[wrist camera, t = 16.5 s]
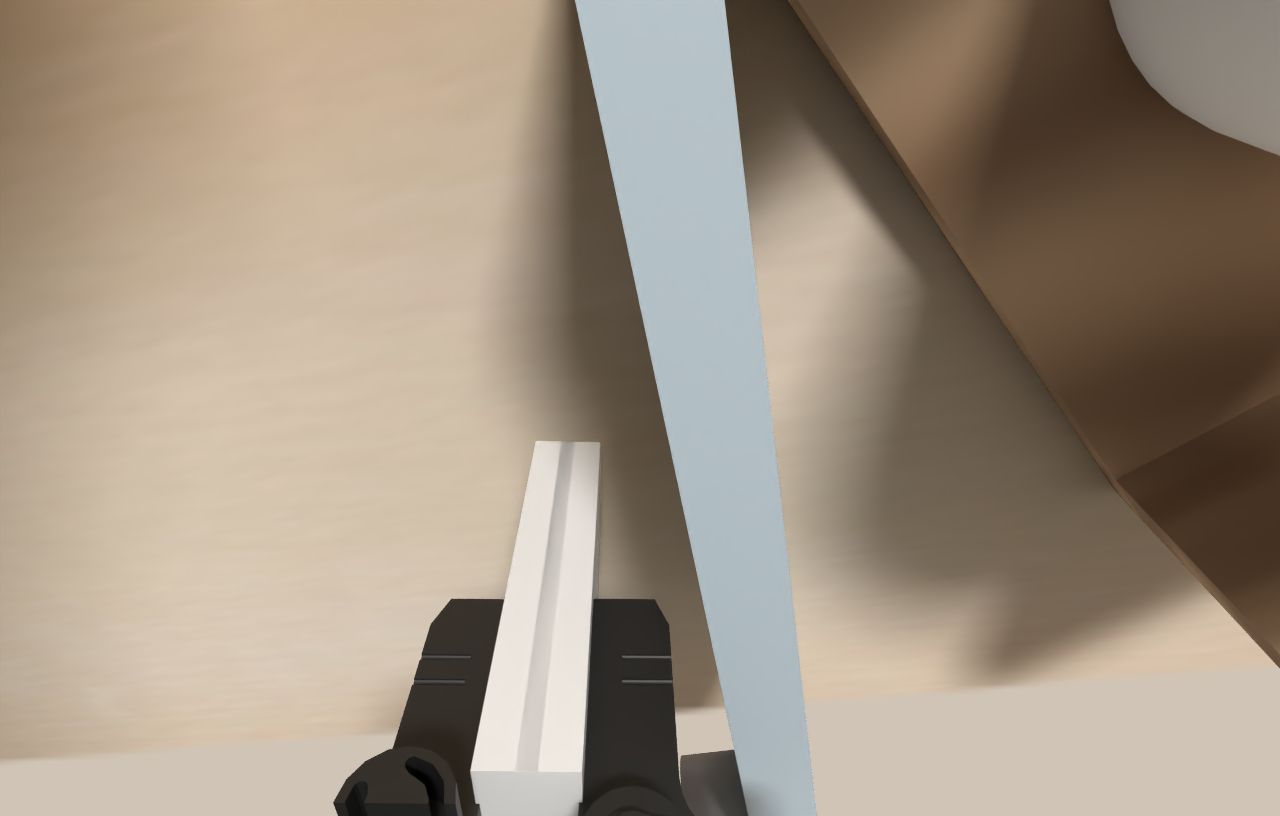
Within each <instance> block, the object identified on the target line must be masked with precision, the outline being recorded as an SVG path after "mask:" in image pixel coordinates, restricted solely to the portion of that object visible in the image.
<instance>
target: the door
mask: <svg viewBox="0 0 1280 816" xmlns="http://www.w3.org/2000/svg"><path fill="white" fill-rule="evenodd" d="M575 3H576V8H577V12H578V17H579V22H580V26H581V31H582V36H583V41H584V45H585V50H586V55H587V59H588V64H589V69H590V73H591V78H592V83H593V88H594V92H595V97H596V102H597V106H598V111H599V116H600V121H601V125H602V130H603V135H604V139H605V144H606V149H607V153H608V158H609V163H610V168H611V172H612V177H613V182H614V186H615V191H616V196H617V200H618V205H619V210H620V215H621V219H622V224H623V229H624V233H625V238H626V243H627V247H628V252H629V257H630V262H631V266H632V271H633V276H634V280H635V285H636V290H637V294H638V299H639V304H640V309H641V313H642V318H643V323H644V327H645V332H646V337H647V342H648V346H649V351H650V356H651V360H652V365H653V370H654V374H655V379H656V384H657V389H658V393H659V398H660V403H661V407H662V412H663V417H664V421H665V426H666V431H667V436H668V440H669V445H670V450H671V454H672V459H673V464H674V468H675V473H676V478H677V483H678V487H679V492H680V497H681V501H682V506H683V511H684V515H685V520H686V525H687V530H688V534H689V539H690V544H691V548H692V553H693V558H694V563H695V567H696V572H697V577H698V581H699V586H700V591H701V595H702V600H703V605H704V610H705V614H706V619H707V624H708V628H709V633H710V638H711V642H712V647H713V652H714V657H715V661H716V666H717V671H718V675H719V680H720V685H721V689H722V694H723V699H724V704H725V708H726V713H727V718H728V722H729V727H730V732H731V736H732V741H733V746H734V750H728V751H718V752H709V753H700V754H693V755H683V756H681V761H680V762H681V763H680V775H681V789H682V794H683V796H684V798H685V800H686V803H687V805H688V807H689V809H690V810H691V812H692V813H693V814H694V816H817V814H816V804H815V795H814V787H813V777H812V769H811V760H810V751H809V742H808V733H807V724H806V716H805V707H804V698H803V689H802V680H801V671H800V663H799V654H798V645H797V636H796V627H795V618H794V610H793V601H792V592H791V583H790V574H789V565H788V557H787V548H786V539H785V530H784V521H783V512H782V504H781V495H780V486H779V477H778V468H777V459H776V451H775V442H774V433H773V424H772V415H771V406H770V398H769V389H768V380H767V371H766V362H765V353H764V345H763V336H762V327H761V318H760V309H759V300H758V292H757V283H756V274H755V265H754V256H753V247H752V239H751V230H750V221H749V212H748V203H747V194H746V186H745V177H744V168H743V159H742V150H741V141H740V133H739V124H738V115H737V106H736V97H735V88H734V80H733V71H732V62H731V53H730V44H729V35H728V27H727V18H726V9H725V0H575Z"/></svg>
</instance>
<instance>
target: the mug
mask: <svg viewBox="0 0 1280 816" xmlns="http://www.w3.org/2000/svg"><path fill="white" fill-rule="evenodd" d="M1109 1H1110V5H1111V8H1112V12H1113V15H1114V19H1115V22H1116V26H1117V29H1118V32H1119V34H1120V36H1121V38H1122V40H1123V42H1124V44H1125V46H1126V49H1127V51H1128V53H1129V55H1130V57H1131V59H1132V61H1133V62H1134V64H1135V65H1136V66H1137V68H1138V69H1139V71H1140V72H1141V73H1142V75H1143V76H1144V78H1145V79H1146V80H1147V82H1148V83H1149V84H1150V86H1151V87H1152V88H1154V89H1155V90H1156V91H1157V92H1158V93H1159V94H1160V95H1161V96H1162V97H1163V98H1164V99H1165V100H1166V101H1167V102H1168V103H1170V104H1171V105H1172V106H1173V107H1175V108H1176V109H1178V110H1179V111H1181V112H1182V113H1184V114H1185V115H1187V116H1189V117H1191V118H1192V119H1194V120H1196V121H1197V122H1199V123H1201V124H1203V125H1204V126H1206V127H1208V128H1210V129H1211V130H1213V131H1215V132H1218V133H1220V134H1223V135H1226V136H1228V137H1231V138H1234V139H1236V140H1239V141H1242V142H1244V143H1247V144H1250V145H1252V146H1255V147H1257V148H1260V149H1263V150H1265V151H1268V152H1271V153H1274V154H1276V155H1279V156H1280V0H1109Z"/></svg>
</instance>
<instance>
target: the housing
mask: <svg viewBox="0 0 1280 816" xmlns="http://www.w3.org/2000/svg"><path fill="white" fill-rule="evenodd" d="M788 2H789V3H790V5H791V6H792V8H793V9H794V11H795V12H796V14H797V15H798V17H799V18H800V20H801V21H802V23H803V24H804V26H805V27H806V29H807V30H808V32H809V33H810V35H811V36H812V38H813V39H814V41H815V42H816V44H817V45H818V47H819V48H820V50H821V51H822V53H823V54H824V56H825V57H826V59H827V60H828V62H829V63H830V65H831V66H832V68H833V69H834V71H835V72H836V74H837V75H838V77H839V78H840V80H841V81H842V83H843V84H844V86H845V87H846V89H847V90H848V92H849V93H850V95H851V96H852V98H853V99H854V101H855V102H856V104H857V105H858V107H859V108H860V110H861V111H862V113H863V114H864V116H865V117H866V119H867V120H868V122H869V123H870V124H871V126H872V127H873V129H874V130H875V132H876V133H877V135H878V136H879V138H880V139H881V141H882V142H883V144H884V145H885V147H886V148H887V150H888V151H889V153H890V154H891V156H892V157H893V159H894V160H895V162H896V163H897V165H898V166H899V168H900V169H901V171H902V172H903V174H904V175H905V177H906V178H907V180H908V181H909V183H910V184H911V186H912V187H913V189H914V190H915V192H916V193H917V195H918V196H919V198H920V199H921V201H922V202H923V204H924V205H925V207H926V208H927V210H928V211H929V213H930V214H931V216H932V217H933V219H934V220H935V222H936V223H937V225H938V226H939V228H940V229H941V231H942V232H943V234H944V235H945V237H946V238H947V240H948V241H949V243H950V244H951V246H952V247H953V249H954V250H955V252H956V253H957V255H958V256H959V258H960V259H961V261H962V262H963V264H964V265H965V267H966V268H967V270H968V271H969V273H970V274H971V276H972V277H973V279H974V280H975V282H976V283H977V285H978V286H979V287H980V289H981V290H982V292H983V293H984V295H985V296H986V298H987V299H988V301H989V302H990V304H991V305H992V307H993V308H994V310H995V311H996V313H997V314H998V316H999V317H1000V319H1001V320H1002V322H1003V323H1004V325H1005V326H1006V328H1007V329H1008V331H1009V332H1010V334H1011V335H1012V337H1013V338H1014V340H1015V341H1016V343H1017V344H1018V346H1019V347H1020V349H1021V350H1022V352H1023V353H1024V355H1025V356H1026V358H1027V359H1028V361H1029V362H1030V364H1031V365H1032V367H1033V368H1034V370H1035V371H1036V373H1037V374H1038V376H1039V377H1040V379H1041V380H1042V382H1043V383H1044V385H1045V386H1046V388H1047V389H1048V391H1049V392H1050V394H1051V395H1052V397H1053V398H1054V400H1055V401H1056V403H1057V404H1058V406H1059V407H1060V409H1061V410H1062V412H1063V413H1064V415H1065V416H1066V418H1067V419H1068V421H1069V422H1070V424H1071V425H1072V427H1073V428H1074V430H1075V431H1076V433H1077V434H1078V436H1079V437H1080V439H1081V440H1082V442H1083V443H1084V445H1085V446H1086V448H1087V449H1088V450H1089V452H1090V453H1091V455H1092V456H1093V458H1094V459H1095V461H1096V462H1097V464H1098V465H1099V467H1100V468H1101V470H1102V471H1103V473H1104V474H1105V476H1106V477H1107V479H1108V480H1109V482H1110V483H1111V485H1112V486H1113V488H1114V489H1115V491H1116V492H1117V493H1118V494H1119V495H1120V496H1121V497H1122V498H1123V500H1124V501H1125V502H1126V503H1127V504H1128V505H1129V506H1130V507H1131V508H1132V509H1133V510H1134V511H1135V512H1136V514H1137V515H1138V516H1139V517H1140V518H1141V519H1142V520H1143V521H1144V522H1145V523H1146V524H1147V525H1148V527H1149V528H1150V529H1151V530H1152V531H1153V532H1154V533H1155V534H1156V535H1157V536H1158V537H1159V538H1160V539H1161V541H1162V542H1163V543H1164V544H1165V545H1166V546H1167V547H1168V548H1169V549H1170V550H1171V551H1172V552H1173V554H1174V555H1175V556H1176V557H1177V558H1178V559H1179V560H1180V561H1181V562H1182V563H1183V564H1184V565H1185V566H1186V568H1187V569H1188V570H1189V571H1190V572H1191V573H1192V574H1193V575H1194V576H1195V577H1196V578H1197V579H1198V581H1199V582H1200V583H1201V584H1202V585H1203V586H1204V587H1205V588H1206V589H1207V590H1208V591H1209V592H1210V593H1211V595H1212V596H1213V597H1214V598H1215V599H1216V600H1217V601H1218V602H1219V603H1220V604H1221V605H1222V606H1223V608H1224V609H1225V610H1226V611H1227V612H1228V613H1229V614H1230V615H1231V616H1232V617H1233V618H1234V619H1235V620H1236V622H1237V623H1238V624H1239V625H1240V626H1241V627H1242V628H1243V629H1244V630H1245V631H1246V632H1247V633H1248V635H1249V636H1250V637H1251V638H1252V639H1253V640H1254V641H1255V642H1256V643H1257V644H1258V645H1259V646H1260V647H1261V649H1262V650H1263V651H1264V652H1265V653H1266V654H1267V655H1268V656H1269V657H1270V658H1271V659H1272V660H1273V662H1274V663H1275V664H1276V665H1277V666H1278V667H1279V668H1280V156H1279V155H1276V154H1274V153H1271V152H1268V151H1265V150H1263V149H1260V148H1257V147H1255V146H1252V145H1250V144H1247V143H1244V142H1242V141H1239V140H1236V139H1234V138H1231V137H1228V136H1226V135H1223V134H1220V133H1218V132H1215V131H1213V130H1211V129H1210V128H1208V127H1206V126H1204V125H1203V124H1201V123H1199V122H1197V121H1196V120H1194V119H1192V118H1191V117H1189V116H1187V115H1185V114H1184V113H1182V112H1181V111H1179V110H1178V109H1176V108H1175V107H1173V106H1172V105H1171V104H1170V103H1168V102H1167V101H1166V100H1165V99H1164V98H1163V97H1162V96H1161V95H1160V94H1159V93H1158V92H1157V91H1156V90H1155V89H1154V88H1152V87H1151V86H1150V84H1149V83H1148V82H1147V80H1146V79H1145V78H1144V76H1143V75H1142V73H1141V72H1140V71H1139V69H1138V68H1137V66H1136V65H1135V64H1134V62H1133V61H1132V59H1131V57H1130V55H1129V53H1128V51H1127V49H1126V46H1125V44H1124V42H1123V40H1122V38H1121V36H1120V34H1119V32H1118V29H1117V26H1116V22H1115V19H1114V15H1113V12H1112V8H1111V5H1110V1H1109V0H788Z"/></svg>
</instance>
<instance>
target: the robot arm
mask: <svg viewBox="0 0 1280 816" xmlns="http://www.w3.org/2000/svg"><path fill="white" fill-rule="evenodd" d="M599 557H600V442H568V441H536V443H535V448H534V453H533V458H532V463H531V468H530V473H529V478H528V483H527V488H526V493H525V498H524V503H523V509H522V514H521V519H520V524H519V529H518V534H517V539H516V544H515V549H514V554H513V559H512V564H511V569H510V574H509V579H508V584H507V589H506V594H505V599H451V600H450V601H449V603H448V604H447V605H446V606H445V607H444V609H443V610H442V611H441V612H440V614H439V615H438V616H437V617H436V618H435V620H434V621H433V622H432V623H431V625H430V628H429V632H428V635H427V638H426V642H425V645H424V648H423V651H422V658H421V660H420V661H419V664H418V668H417V671H416V674H415V678H414V685H412V687H411V691H410V694H409V697H408V700H407V704H406V707H405V710H404V714H403V717H402V720H401V723H400V727H399V730H398V733H397V736H396V740H395V743H394V746H393V749H389V750H387V751H385V752H383V753H381V754H379V755H377V756H375V757H373V758H371V759H369V760H367V761H365V762H364V763H363V764H362V765H361V766H360V767H359V768H358V769H357V770H356V771H355V772H354V773H353V774H352V775H351V776H350V777H348V779H346V781H345V783H344V785H343V786H342V788H341V790H340V792H339V794H338V795H337V797H336V799H335V801H334V802H333V803H334V806H335V809H336V811H337V814H338V816H694V814H693V813H692V812H691V810H690V809H689V807H688V805H687V803H686V800H685V798H684V796H683V794H682V789H681V784H680V779H679V768H678V753H677V738H676V723H675V707H674V692H673V677H672V662H671V647H670V632H669V624H668V622H667V621H666V619H665V617H664V615H663V613H662V612H661V610H660V608H659V606H658V605H657V603H656V601H655V599H598V579H599Z"/></svg>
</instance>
